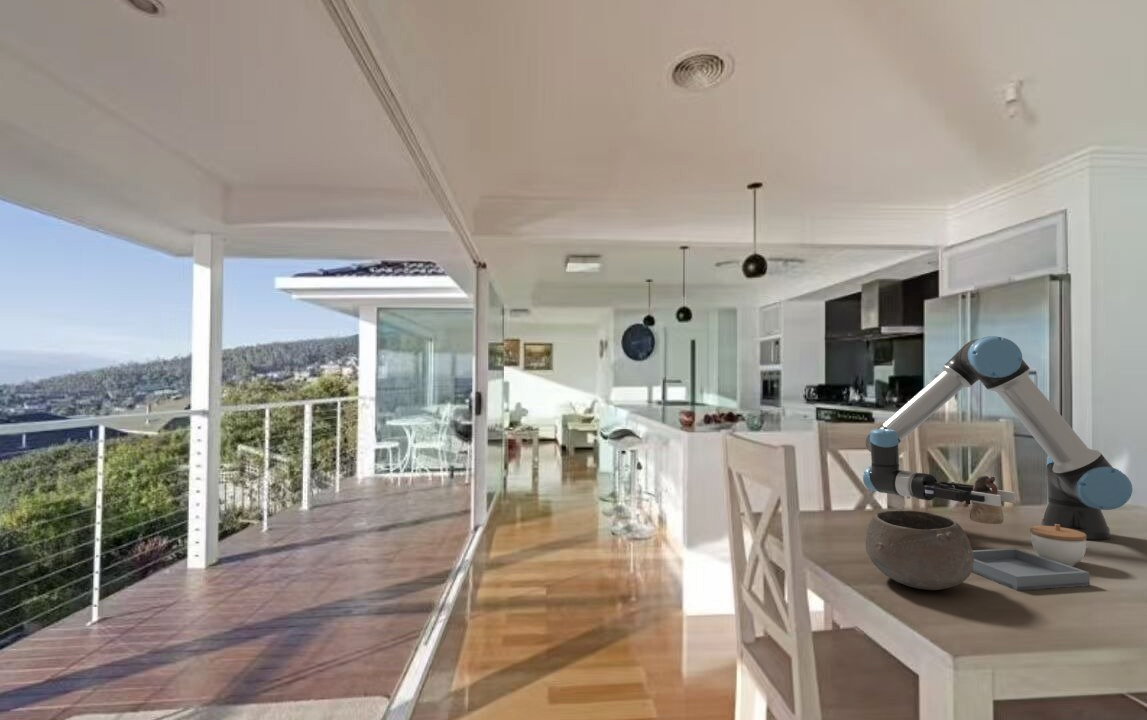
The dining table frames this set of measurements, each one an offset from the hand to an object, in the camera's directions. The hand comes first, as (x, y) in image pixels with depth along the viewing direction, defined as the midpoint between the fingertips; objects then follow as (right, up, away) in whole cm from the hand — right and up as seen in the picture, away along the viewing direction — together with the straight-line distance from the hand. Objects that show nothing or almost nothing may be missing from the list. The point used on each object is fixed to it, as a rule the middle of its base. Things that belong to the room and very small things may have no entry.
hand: (1007, 499), depth 143 cm
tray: (-7, -15, -12) cm, 20 cm away
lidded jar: (+10, -15, -4) cm, 18 cm away
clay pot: (-34, -15, -17) cm, 41 cm away
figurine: (-2, -7, +4) cm, 8 cm away
